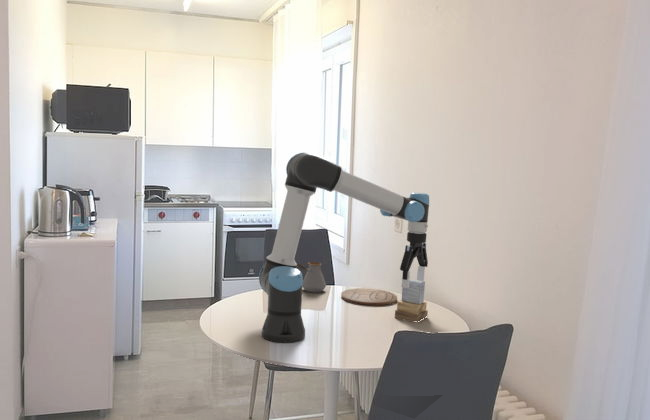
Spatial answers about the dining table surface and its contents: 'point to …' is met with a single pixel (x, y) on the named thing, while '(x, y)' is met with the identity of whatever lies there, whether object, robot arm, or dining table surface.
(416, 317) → the walnut slab
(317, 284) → the coffee pot
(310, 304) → the dining table surface
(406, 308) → the oak slab
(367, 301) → the trivet
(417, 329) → the dining table surface
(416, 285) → the medicine box
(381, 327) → the dining table surface
